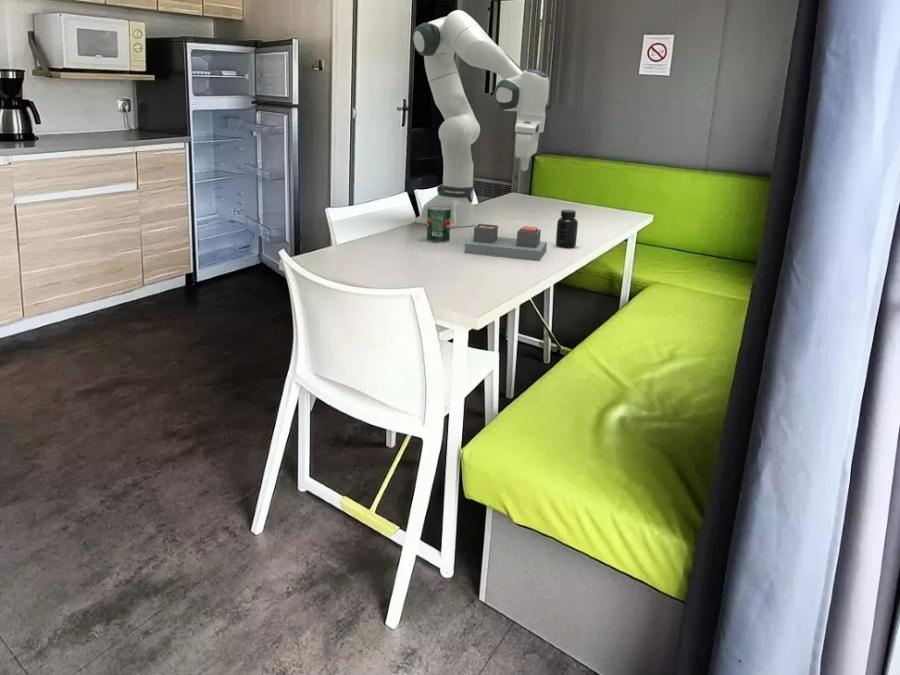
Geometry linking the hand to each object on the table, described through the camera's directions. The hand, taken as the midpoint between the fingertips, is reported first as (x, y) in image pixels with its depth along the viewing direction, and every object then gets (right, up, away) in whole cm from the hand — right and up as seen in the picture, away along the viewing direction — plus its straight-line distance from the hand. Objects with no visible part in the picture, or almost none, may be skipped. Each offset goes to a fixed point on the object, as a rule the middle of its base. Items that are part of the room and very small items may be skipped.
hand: (524, 170), depth 228 cm
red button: (+1, -23, -1) cm, 23 cm away
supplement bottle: (+15, -23, +14) cm, 31 cm away
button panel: (-6, -26, +2) cm, 27 cm away
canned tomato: (-28, -20, +15) cm, 38 cm away
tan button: (-12, -22, +3) cm, 25 cm away
